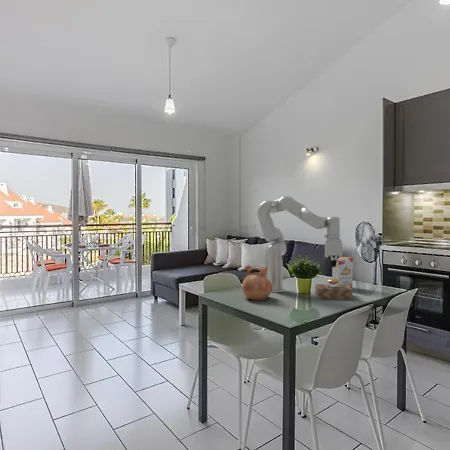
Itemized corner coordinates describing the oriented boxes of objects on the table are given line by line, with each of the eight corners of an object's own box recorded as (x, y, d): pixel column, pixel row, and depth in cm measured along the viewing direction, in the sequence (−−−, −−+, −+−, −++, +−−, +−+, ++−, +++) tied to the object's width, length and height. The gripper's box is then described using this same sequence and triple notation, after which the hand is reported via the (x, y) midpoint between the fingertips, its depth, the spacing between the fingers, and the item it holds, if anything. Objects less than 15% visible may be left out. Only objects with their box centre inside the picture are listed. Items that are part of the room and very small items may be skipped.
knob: (328, 292, 214) (328, 280, 214) (326, 289, 221) (326, 278, 221) (339, 292, 213) (339, 281, 213) (337, 289, 220) (337, 279, 220)
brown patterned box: (317, 298, 212) (317, 288, 211) (315, 293, 225) (315, 284, 225) (352, 299, 209) (352, 289, 209) (347, 294, 223) (347, 284, 222)
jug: (277, 297, 216) (277, 264, 215) (263, 303, 201) (263, 268, 200) (251, 293, 226) (251, 262, 226) (236, 299, 211) (236, 266, 211)
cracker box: (338, 290, 233) (338, 259, 233) (331, 288, 239) (331, 258, 238) (353, 288, 240) (353, 257, 240) (346, 286, 246) (346, 256, 245)
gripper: (321, 237, 213) (321, 267, 214) (347, 237, 211) (347, 267, 212) (320, 236, 221) (320, 266, 221) (344, 236, 218) (345, 266, 219)
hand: (333, 266), depth 216 cm, fingers closed
